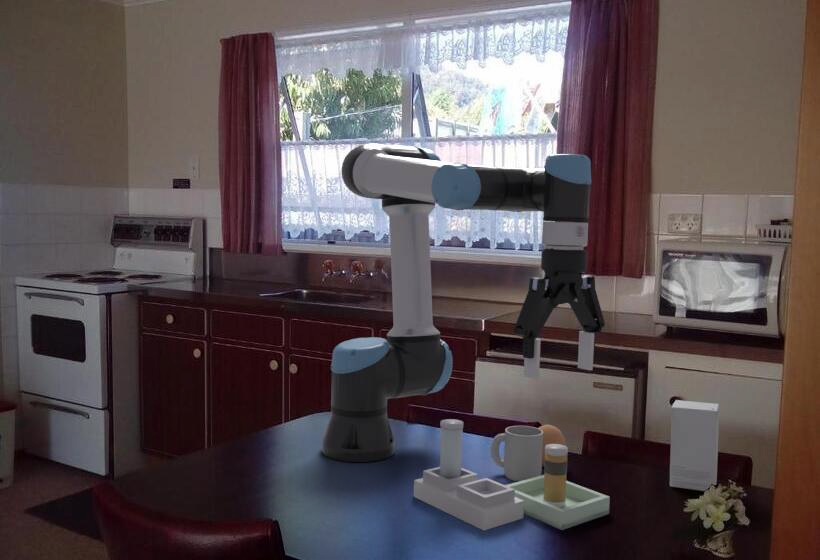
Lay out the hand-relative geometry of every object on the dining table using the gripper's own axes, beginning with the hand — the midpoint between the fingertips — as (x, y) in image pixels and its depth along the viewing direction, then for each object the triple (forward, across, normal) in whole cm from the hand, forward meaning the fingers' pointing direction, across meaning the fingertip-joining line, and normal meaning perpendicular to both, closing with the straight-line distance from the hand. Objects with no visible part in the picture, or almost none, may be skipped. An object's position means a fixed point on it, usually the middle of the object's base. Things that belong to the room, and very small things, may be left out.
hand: (559, 373), depth 132 cm
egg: (+24, +16, +16) cm, 33 cm away
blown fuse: (+23, 0, 0) cm, 23 cm away
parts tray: (+24, 0, 0) cm, 24 cm away
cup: (+24, +7, +16) cm, 29 cm away
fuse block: (+24, -12, +9) cm, 28 cm away
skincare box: (+24, +31, -7) cm, 40 cm away
